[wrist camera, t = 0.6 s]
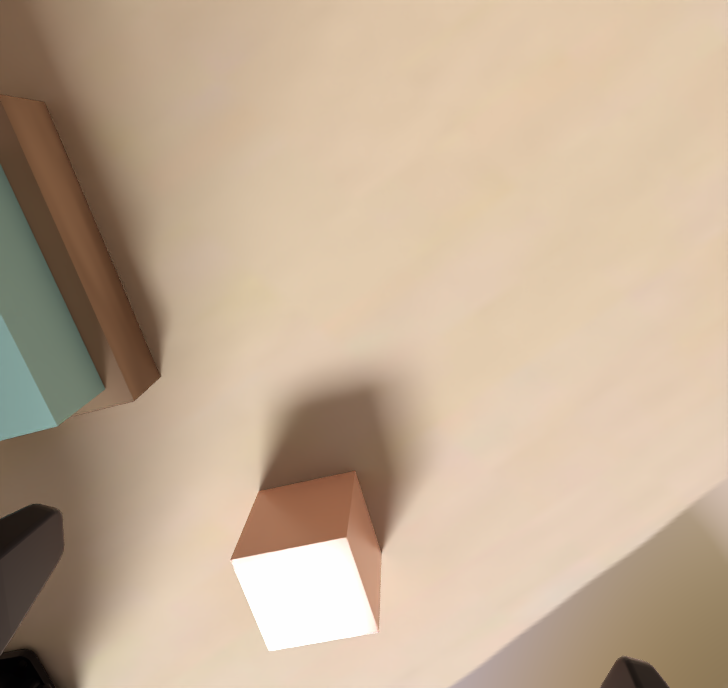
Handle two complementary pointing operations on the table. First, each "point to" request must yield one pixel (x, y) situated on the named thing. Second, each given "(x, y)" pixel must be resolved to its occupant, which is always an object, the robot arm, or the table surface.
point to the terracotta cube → (311, 562)
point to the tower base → (74, 251)
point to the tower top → (36, 335)
